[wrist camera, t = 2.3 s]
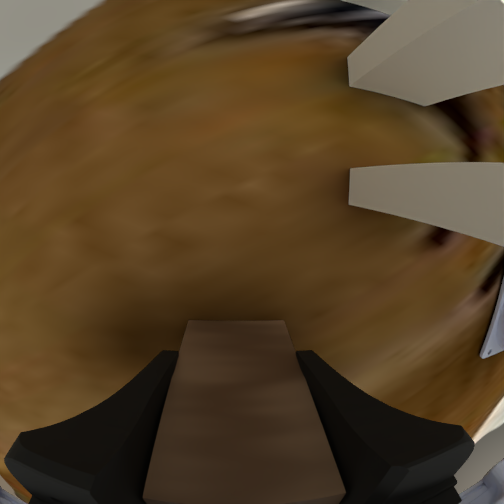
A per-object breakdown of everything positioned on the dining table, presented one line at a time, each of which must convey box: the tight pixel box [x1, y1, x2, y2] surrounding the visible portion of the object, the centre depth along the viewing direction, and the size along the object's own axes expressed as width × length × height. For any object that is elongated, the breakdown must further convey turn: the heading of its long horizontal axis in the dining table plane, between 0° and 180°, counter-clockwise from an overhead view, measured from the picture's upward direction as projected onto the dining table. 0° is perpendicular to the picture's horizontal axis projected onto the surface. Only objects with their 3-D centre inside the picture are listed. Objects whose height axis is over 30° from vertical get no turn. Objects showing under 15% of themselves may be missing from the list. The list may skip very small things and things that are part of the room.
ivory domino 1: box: [347, 0, 504, 106], centre depth 6 cm, size 4×2×9 cm, turn 88°
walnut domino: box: [142, 320, 346, 504], centre depth 9 cm, size 4×2×9 cm, turn 89°
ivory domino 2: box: [348, 162, 504, 247], centre depth 7 cm, size 4×2×9 cm, turn 89°
